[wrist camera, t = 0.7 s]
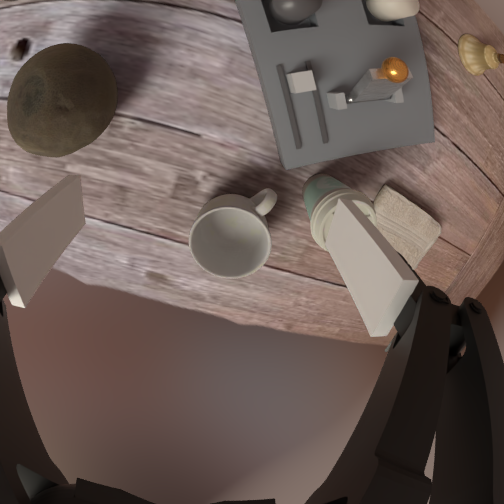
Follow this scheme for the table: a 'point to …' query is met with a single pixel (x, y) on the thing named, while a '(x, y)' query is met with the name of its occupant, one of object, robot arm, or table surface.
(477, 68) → the hand bell
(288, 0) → the dark gray button
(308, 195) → the coffee cup
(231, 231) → the teacup
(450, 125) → the table surface
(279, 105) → the panel
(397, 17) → the cream button
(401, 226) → the washcloth
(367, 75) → the lever
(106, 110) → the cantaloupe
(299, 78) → the slider knob
